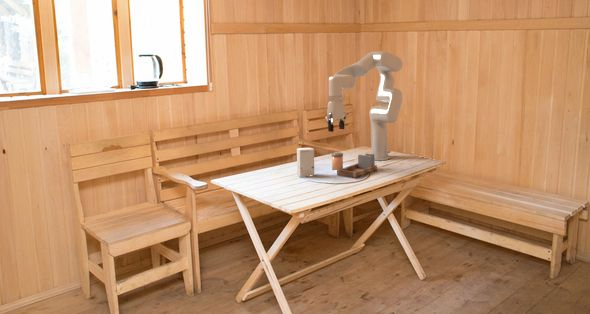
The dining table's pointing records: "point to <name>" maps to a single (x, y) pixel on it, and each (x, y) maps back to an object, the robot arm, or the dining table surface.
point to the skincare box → (305, 162)
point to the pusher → (366, 160)
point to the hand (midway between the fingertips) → (336, 130)
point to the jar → (337, 161)
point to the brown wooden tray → (355, 171)
